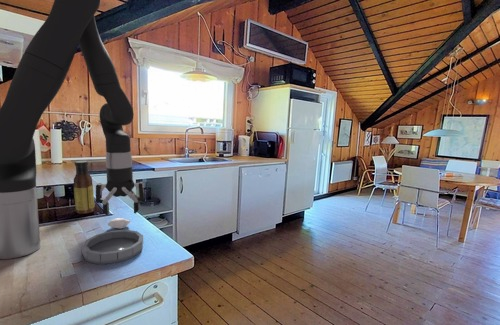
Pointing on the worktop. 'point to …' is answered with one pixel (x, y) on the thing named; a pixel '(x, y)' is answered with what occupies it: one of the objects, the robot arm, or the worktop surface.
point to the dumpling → (118, 223)
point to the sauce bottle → (83, 189)
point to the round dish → (112, 246)
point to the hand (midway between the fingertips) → (121, 213)
